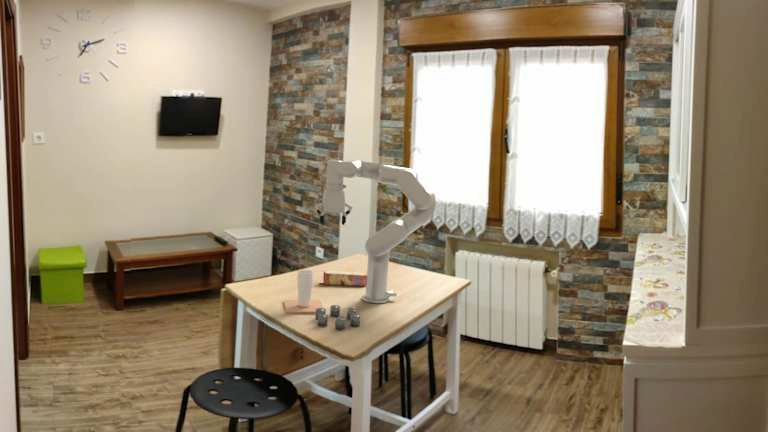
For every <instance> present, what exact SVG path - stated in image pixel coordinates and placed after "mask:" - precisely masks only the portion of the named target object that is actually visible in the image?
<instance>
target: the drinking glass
mask: <svg viewBox="0 0 768 432" xmlns="http://www.w3.org/2000/svg"><path fill="white" fill-rule="evenodd" d="M296 277H297V278H296V279H297V300H298V306H300V307H309V306H310V301H311V300H312V294H313V293H312V292H313V285H314V271H313V270H310V269H300V270H297V276H296Z"/></svg>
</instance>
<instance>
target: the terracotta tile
mask: <svg viewBox="0 0 768 432" xmlns="http://www.w3.org/2000/svg"><path fill="white" fill-rule="evenodd" d="M321 301H322V300H321V299H311V301H310V306H309V307H300V306H298V299H283V305H284V311H285V314H286V315H316V309H317V308H324V307H323V303H322V302H321Z"/></svg>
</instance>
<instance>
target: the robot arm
mask: <svg viewBox="0 0 768 432" xmlns="http://www.w3.org/2000/svg"><path fill="white" fill-rule="evenodd" d="M326 165H327V167H326V168H327V169H326V187H325V188H326V189H323V194H322V200H321V201H322V202H319V203H318V204H315V205H314V208H315V210H316V213H318V215H320V216H319V223H320V224H321V225H322V226H323V225H324V223H325V216H324V215H325V214H326V213H341V214H342V215H341V225H342V226H345V224H346V222H347V216H348V215H349V214H350V213H351V211H352V210H353V207H352V206H351V205H349V204H347V203H346V197H345V196H346V195H345V191H344V189H346V188H347V185H346V184H344V178H346V179H347V178H348V179H353V178H356V177H357V178H364V179H369V180H374V181H376V182H377V183H380V184H383V185H390V186H395V187H399V189H400V190H401V192H402V194H404V195H405V196H406V198H407V199H408V200H409V202H411V204H412V205H413V208H411V209H410V210H409V211H408V212H406V213H405V214H403V215H401V216H400V217H399V218H397V219H395V220H393V221H391V222H390V223H389V224H387V225H386V226H385V227H383V228H382V229H380V230H379V231H377V232H374V233H372V235H370V237H368V238H367V240H366V241H365V244H364V248H365V251H366V253H367V254H368V257H367V267H366V268H367V269H366V270H367V271H366V275H367V280H366V286H365V293H364V294H363V295H362V296H361V299H362V300H363V301H364V302H365V303H371V304H385V303H388V302H389V301H390V297H391V298H392V297H395V298H396V297H397V295H398V293H397V292H395V291H394V292H393V290H390V291H388V274H389V266H390V265H389V262H390V254H391V250H392V249H394V248H395V247H397V246H398V245H399V244H401V243H403V242H404V241H405V240H406V238H407V237H408V236H409V235H411V234H412V233H413V232H415V231H416V230H418V229H419V228H420V227H422V226H423V225H425V224H427V222H428V221H429V220H430V218H432V216H433V214H434V212H435V209H436V206H437V204H436V203H437V201H436V196H435V195H436V194H435V192H434V191H433V190H432V189H430V188H426V187H424V186H423V185H422V183H421V182H420V181H419V179H418V178H419V177H418V173H417V171H416V170H414V169H413V168H410V167H409V168H408V167H402V166H396V165H389V164H384V163H377V162H370V161H365V160H356V159H355V160H354V159H353V160H350V161H343V160H340V159H329V160H328V161H327V164H326ZM319 208H321V211H320V209H319ZM346 208H347V210H346Z"/></svg>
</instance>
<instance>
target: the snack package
mask: <svg viewBox="0 0 768 432" xmlns="http://www.w3.org/2000/svg"><path fill="white" fill-rule="evenodd" d="M322 278H323V280H322V281H323V284H324V285H325V286H350V287H353V286H354V287H366V280H367V273H365V272H353V271H352V272H351V271H333V270H332V271H331V270H324V272H323V277H322Z"/></svg>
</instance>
